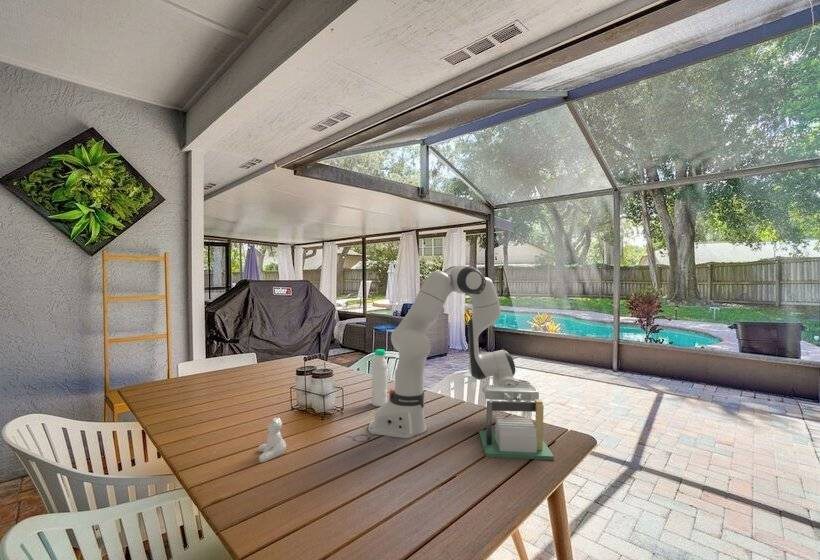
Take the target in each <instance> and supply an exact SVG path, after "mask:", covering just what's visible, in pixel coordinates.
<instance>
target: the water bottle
mask: <svg viewBox="0 0 820 560" xmlns="http://www.w3.org/2000/svg"><path fill="white" fill-rule="evenodd" d="M374 355H375V359H374V361H373V362H372V365H371V368H372V371H371V372H372V374H371V375H372V377H371V386H372V389H371V404H372V405H373V406H374V407H381V406H382V405H384V404H385V403H387V402H388V368H389V367H388V366H389V365H388V362H387V360H386V358H385V356H386V350H385V348H384V349H382V348H379V349H375V351H374Z"/></svg>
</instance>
